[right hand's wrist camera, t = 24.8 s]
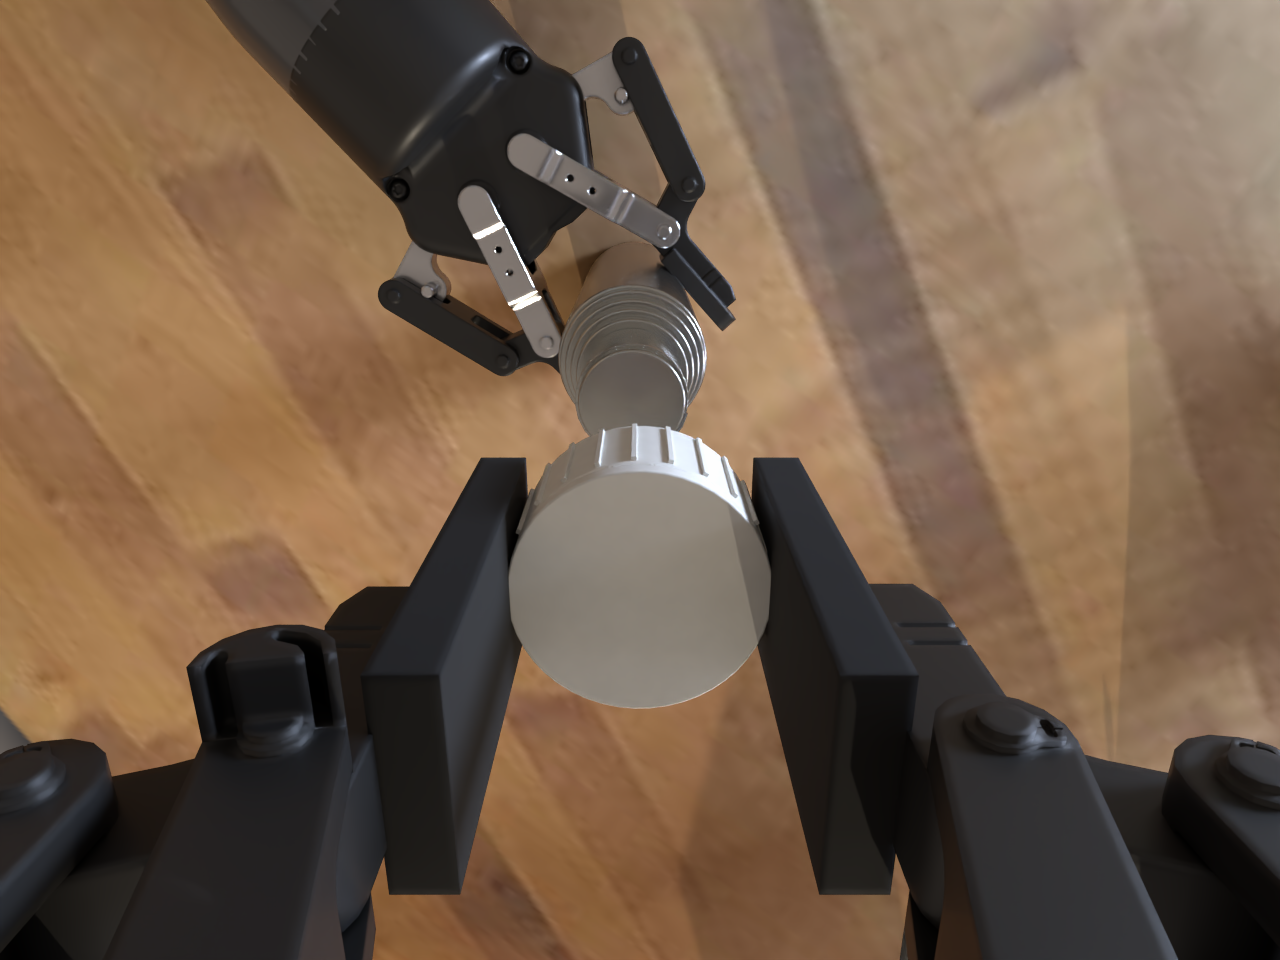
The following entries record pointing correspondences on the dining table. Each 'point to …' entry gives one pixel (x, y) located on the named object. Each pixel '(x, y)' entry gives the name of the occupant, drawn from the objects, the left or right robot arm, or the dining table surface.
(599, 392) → the bottle
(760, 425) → the dining table surface
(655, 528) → the cap
